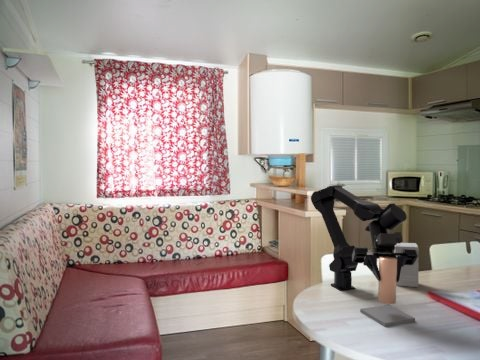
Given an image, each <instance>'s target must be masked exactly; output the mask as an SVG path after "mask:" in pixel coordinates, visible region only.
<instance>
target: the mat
mask: <svg viewBox="0 0 480 360" xmlns="http://www.w3.org/2000/svg"><path fill="white" fill-rule="evenodd" d="M359 313H361V314H363V315H365V316H366V317H368V318H369V319H372V320H373V321H374V322H376V323H378V324H379V325H381V326H383V327H386V328H387V327H390V326H397V325H401V324H403V325H404V324H409V323H413V322H414V323H415V322H416V318H415V317H414V316H412V315H410V314H408V313H407V312H405V311H403V310H400V309H398V308H397V307H394V306H393V305H392V304H383V305H382V304H381V305H377V306H376V305H375V306H368V307H363V308H360V310H359Z"/></svg>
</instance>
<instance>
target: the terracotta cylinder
mask: <svg viewBox="0 0 480 360" xmlns="http://www.w3.org/2000/svg"><path fill="white" fill-rule="evenodd" d="M378 270H379V273H380V281H378V286H377V287H378V288H377V289H378V290H377V292H378V293H377V296H378V297H377V300H378V302H379V303H382V304H384V305H394V304H396V303H397V286H396V280H397V259H396V258H393V257H387V256H383V257H379V259H378Z"/></svg>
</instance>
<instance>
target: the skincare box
mask: <svg viewBox="0 0 480 360" xmlns="http://www.w3.org/2000/svg"><path fill="white" fill-rule="evenodd" d="M402 249H415V250H416V251H417V254H418V255H419V251H420V249H419V246H418V244H417V243H416V242H402V243H397V245H395V250H393V252H394V253H401V251H402ZM396 287H410V288H411V287H413V288H419V256H418V257H417V259H416V261H415V263H414V264H413V265H404V266H403V267H401V272H400V278H399V282H397V281H396Z"/></svg>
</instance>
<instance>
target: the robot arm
mask: <svg viewBox="0 0 480 360" xmlns="http://www.w3.org/2000/svg"><path fill="white" fill-rule="evenodd" d="M335 200H337V201H340V202H341V203H342V204H344V205H345V206H347V207H348V208H350V209H351V210H352V211H353V214H354V215H355V216H356V217H357V219H359V220H360V221H361V222H369V221H371V222H370V223H368V224H367V226H366V227H365V229H364V230H365V231H366V232H369V234H370V240H371V247H372V250H371V249H370V250H368V247H367V246H355V245H350V244H349V243H348V241H347V239H346V237H345V234H344V233H343V230H342V228H341V225H340V223H339V220H338V217H337V215H336V212H335V210H334V208H335ZM310 201H311V203H312V205H313V207H314V209H316V211H317V212H319V213H320V214H321V217H322V219H323V222H324V225H325V228H326V230H327V231H328V235H329V237H330V239H331V242H332V246H333V247H334V248H333V253H332V256H333V260H332V261H331V263H329V265H328V267H329V270H330V272H332V273H334V274H333V275H334V277H333V283H330V286H332V287H334V288H336V289H337V290H339V291H346V290H354V289H355V286H353V285H352V272H356V270H357V267H358V265H359V264H363V266H366V267H367V268H368V269H369V270H370V271H371V272H372V275H374V277H375V278H376V280H377V282H379V281H380V273H379V265H378V263H377V259H378V260H379V257H383V256H387V257H393V258H396V259H397V280H396V281H397V282H399V278H400V272H401V267H403V266H404V265H413V264H414V263H415V261H416V259H417V257H418V258H419V253H418V254H417V251H416V250H415V249H402V251H401V253H394V250H395V245H397V243H403V242H404V239H403V235H402V232H401V231H396V232H394V233H390V232H389V230H390V231H393V230H396V228H398V227H399V226H400V225H402V224H403V223H404V222H405V221H406V220H407V218H408V217H407V213H406V211H404V210H403V209H402V208H401V207H399V206H397V205H396V203H395V202H394V203H389V204H388V205H387V206H386V207H385V208H382V207H381V206H380V205H379V204H378V203H375V202H372V201H369V200H365V199H361V198H360V197H359V196H357V195H355V194H353V193H352V192H350V191H349V190H346V189H345V188H343V186H342V185H340V184H335V185H333V184H332V185H329V186H327V187H325V188H322V189H320V190H317V191H316V190H315V191H313V192H312V194H311V196H310Z"/></svg>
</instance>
